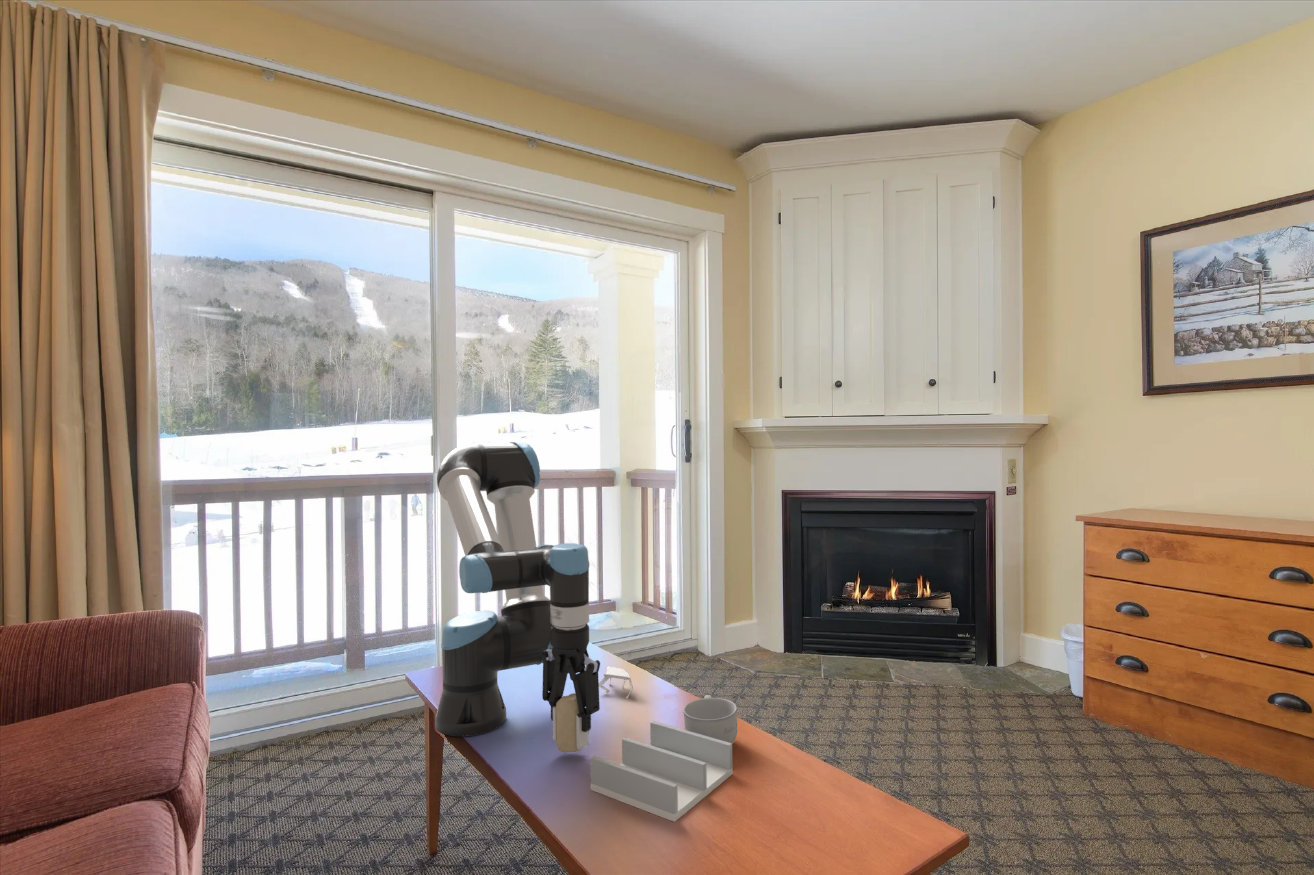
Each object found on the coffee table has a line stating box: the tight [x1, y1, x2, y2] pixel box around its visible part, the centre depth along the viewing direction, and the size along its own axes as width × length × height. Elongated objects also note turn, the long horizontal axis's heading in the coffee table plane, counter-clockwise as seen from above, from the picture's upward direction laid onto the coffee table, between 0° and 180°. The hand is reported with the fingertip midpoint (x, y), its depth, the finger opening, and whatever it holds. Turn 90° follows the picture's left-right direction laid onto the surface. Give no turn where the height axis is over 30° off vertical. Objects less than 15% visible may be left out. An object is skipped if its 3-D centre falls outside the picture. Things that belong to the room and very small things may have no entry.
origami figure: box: [599, 666, 634, 700], centre depth 170 cm, size 12×8×5 cm
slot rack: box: [589, 720, 733, 823], centre depth 126 cm, size 18×19×6 cm
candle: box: [556, 692, 585, 753], centre depth 136 cm, size 6×6×10 cm
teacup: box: [682, 694, 738, 744], centre depth 142 cm, size 14×11×8 cm
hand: (570, 742), depth 136 cm, fingers closed on candle, 5 cm apart
